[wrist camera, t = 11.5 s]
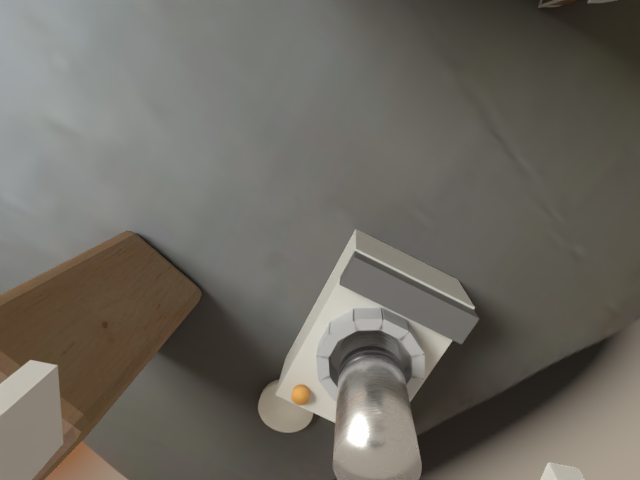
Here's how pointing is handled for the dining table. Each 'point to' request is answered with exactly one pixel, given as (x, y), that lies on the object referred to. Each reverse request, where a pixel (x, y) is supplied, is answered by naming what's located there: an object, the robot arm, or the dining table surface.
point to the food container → (558, 0)
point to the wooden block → (94, 327)
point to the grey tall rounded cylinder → (373, 412)
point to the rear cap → (281, 411)
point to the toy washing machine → (375, 320)
